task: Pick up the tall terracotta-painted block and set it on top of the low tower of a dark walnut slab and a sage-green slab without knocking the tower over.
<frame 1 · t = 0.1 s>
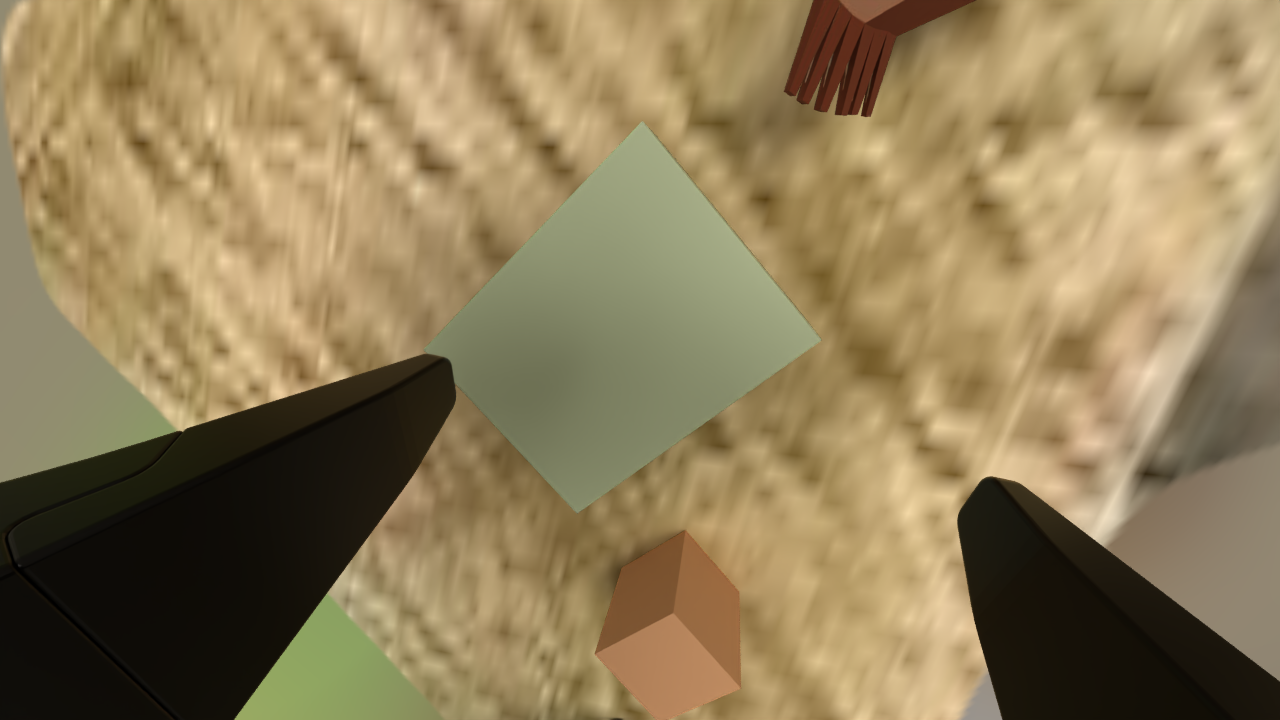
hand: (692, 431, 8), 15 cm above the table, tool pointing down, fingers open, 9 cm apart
terracotta block: (679, 578, 28), on the table
sage slab: (621, 328, 21), point 2 cm above the table
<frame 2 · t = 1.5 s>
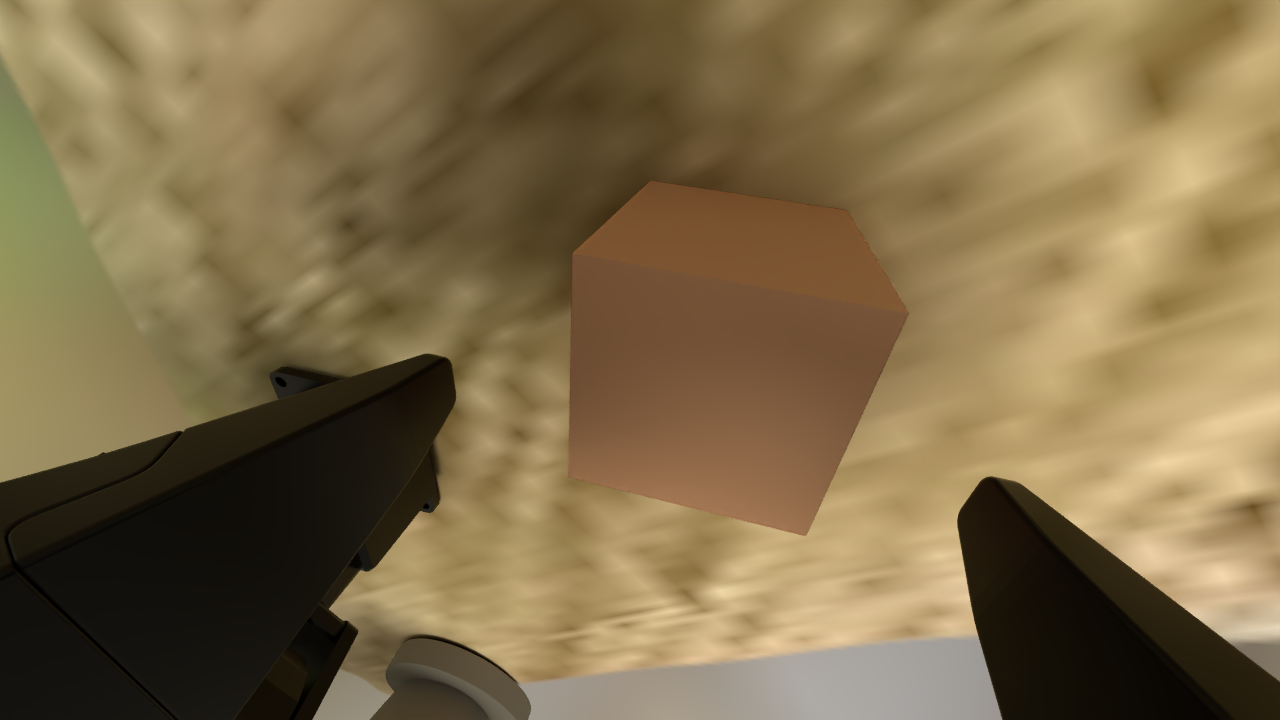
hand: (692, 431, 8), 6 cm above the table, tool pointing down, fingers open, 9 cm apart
vase: (464, 677, 32), on the table
terracotta block: (726, 284, 13), on the table
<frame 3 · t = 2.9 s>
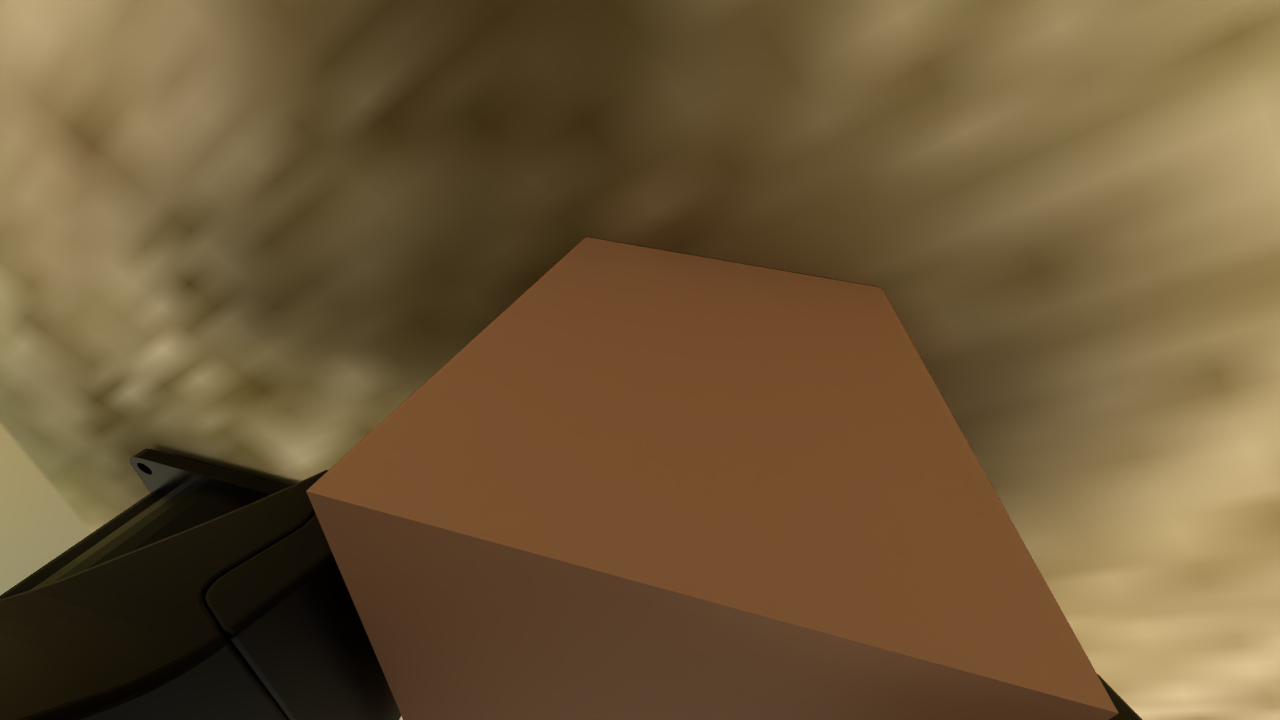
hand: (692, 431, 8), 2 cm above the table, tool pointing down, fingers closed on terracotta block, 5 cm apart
terracotta block: (702, 381, 9), on the table, touching gripper
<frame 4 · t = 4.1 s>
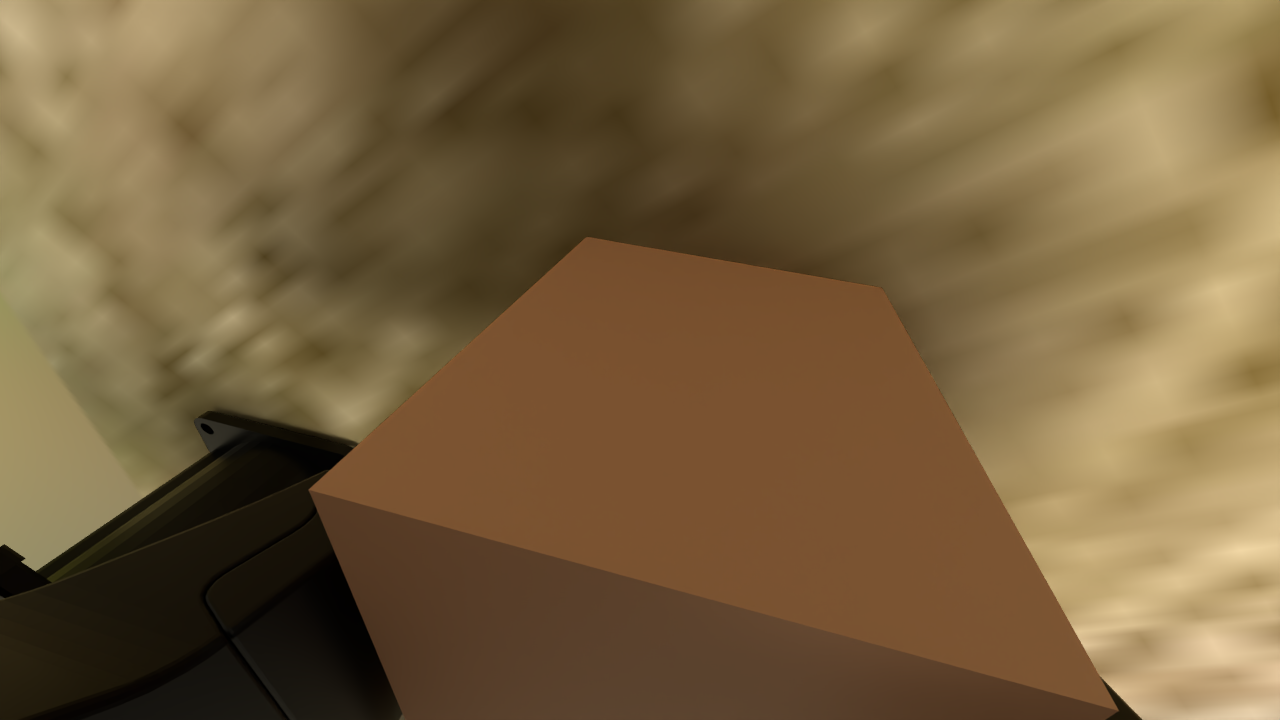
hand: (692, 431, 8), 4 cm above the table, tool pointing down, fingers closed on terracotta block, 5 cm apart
terracotta block: (702, 381, 9), point 2 cm above the table, touching gripper
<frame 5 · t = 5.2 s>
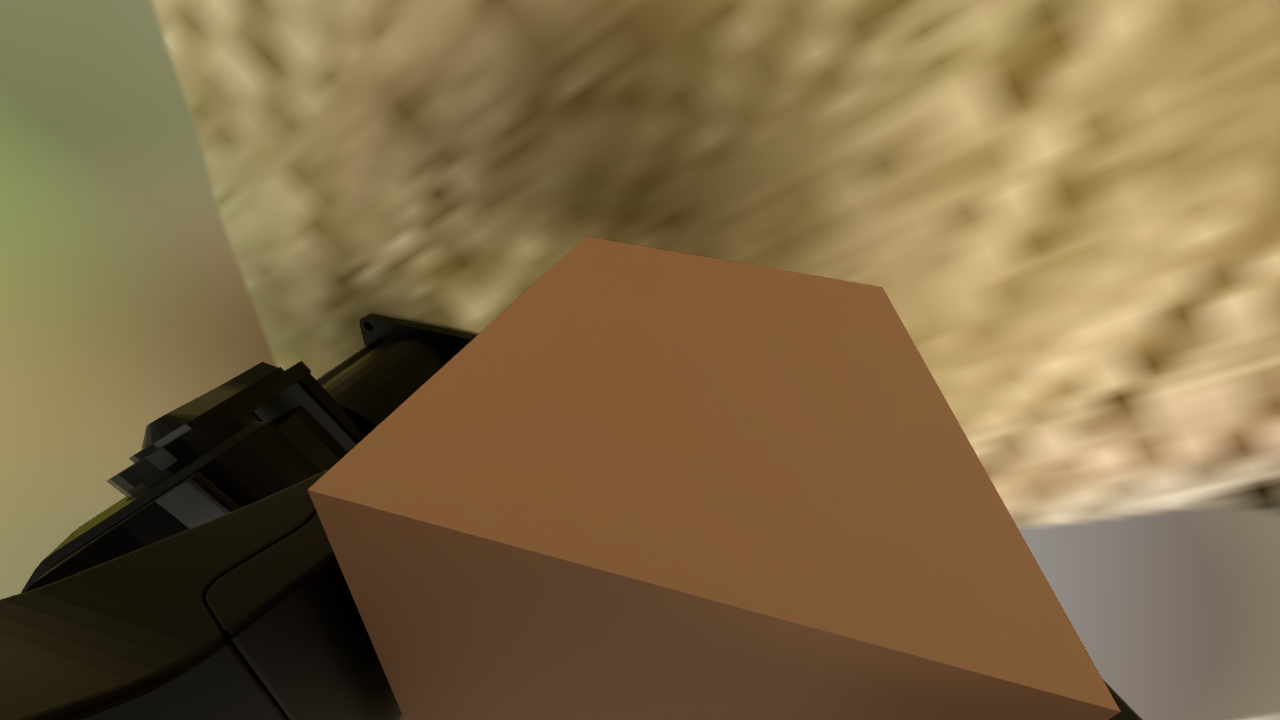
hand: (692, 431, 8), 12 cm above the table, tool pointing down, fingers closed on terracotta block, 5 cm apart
terracotta block: (702, 381, 9), point 10 cm above the table, touching gripper
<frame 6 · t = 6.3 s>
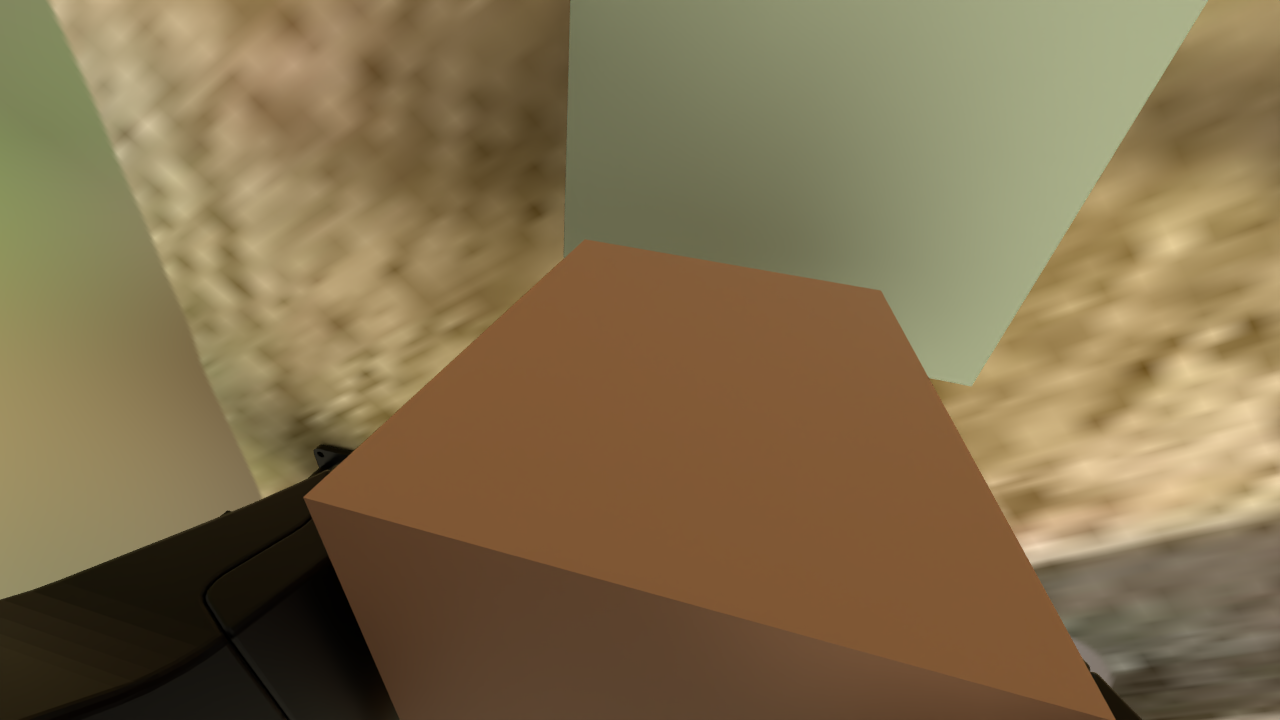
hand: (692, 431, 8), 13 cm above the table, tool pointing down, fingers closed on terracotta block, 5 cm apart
terracotta block: (701, 383, 9), point 11 cm above the table, touching gripper
sage slab: (795, 162, 15), point 2 cm above the table
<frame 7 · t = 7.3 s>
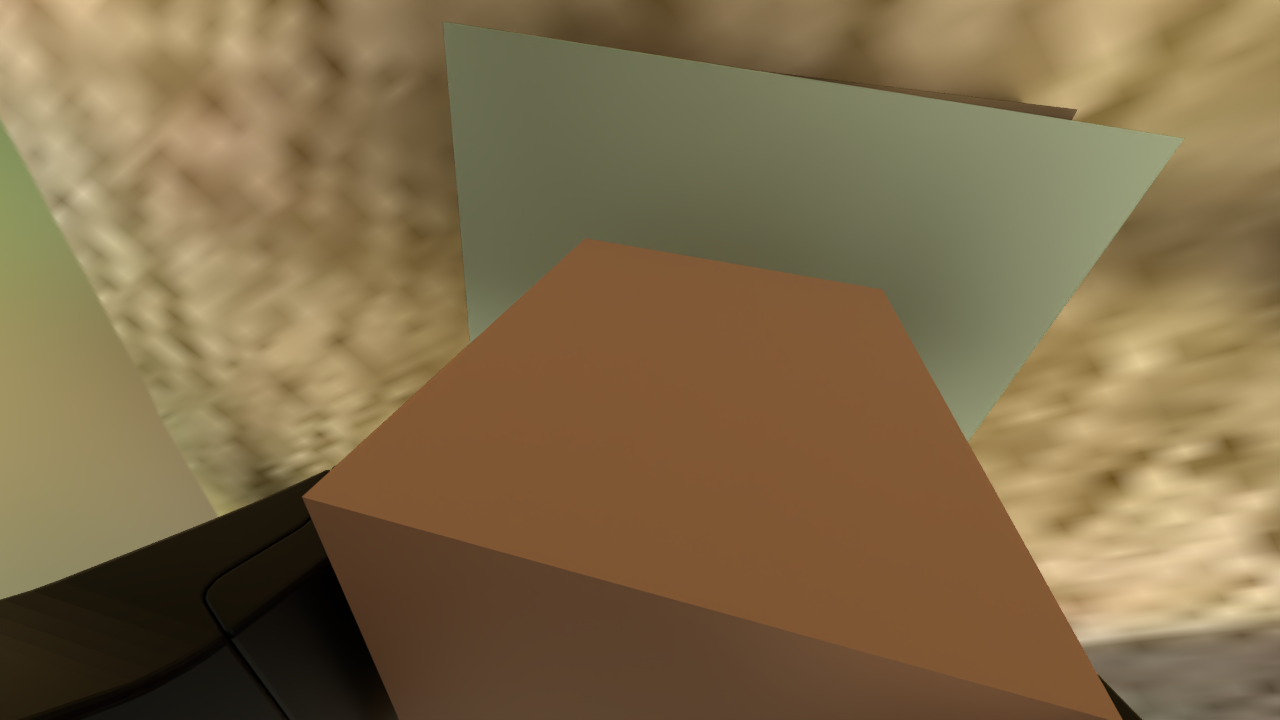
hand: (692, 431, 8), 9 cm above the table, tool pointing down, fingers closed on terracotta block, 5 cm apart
terracotta block: (702, 383, 9), point 8 cm above the table, touching gripper
sage slab: (725, 274, 13), point 2 cm above the table, touching walnut slab
walnut slab: (732, 242, 16), on the table, touching sage slab
when the fingers open (8 cm above the table, at t = 8.3 s): terracotta block drops 2 cm, point 5 cm above the table.
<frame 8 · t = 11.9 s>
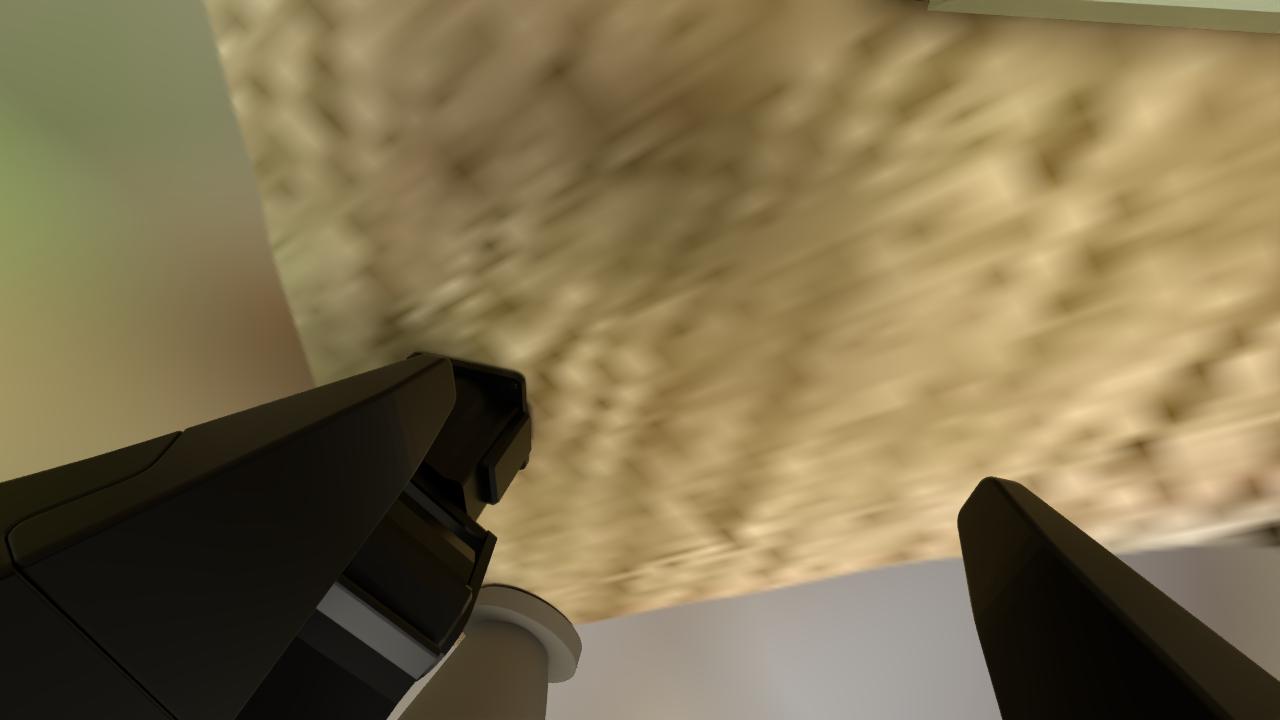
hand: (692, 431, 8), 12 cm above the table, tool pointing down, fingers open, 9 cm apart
vase: (524, 623, 38), on the table
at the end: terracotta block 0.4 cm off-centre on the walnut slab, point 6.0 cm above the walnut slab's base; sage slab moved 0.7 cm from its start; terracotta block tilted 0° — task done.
